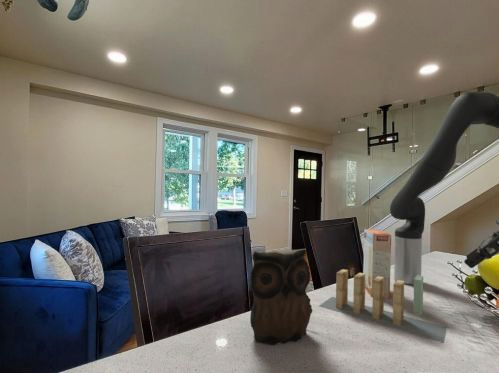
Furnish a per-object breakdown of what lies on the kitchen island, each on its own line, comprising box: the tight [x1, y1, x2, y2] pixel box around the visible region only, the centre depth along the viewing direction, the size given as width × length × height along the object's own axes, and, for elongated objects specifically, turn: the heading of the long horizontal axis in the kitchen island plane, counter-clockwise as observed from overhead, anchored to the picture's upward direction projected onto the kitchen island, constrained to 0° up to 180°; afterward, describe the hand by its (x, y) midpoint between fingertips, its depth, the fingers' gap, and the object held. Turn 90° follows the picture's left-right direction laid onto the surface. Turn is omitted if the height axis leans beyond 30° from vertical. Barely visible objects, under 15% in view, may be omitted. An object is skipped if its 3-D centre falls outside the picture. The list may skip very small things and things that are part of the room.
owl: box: [249, 248, 313, 346], centre depth 65 cm, size 13×13×20 cm
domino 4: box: [392, 280, 405, 326], centre depth 73 cm, size 5×2×10 cm, turn 141°
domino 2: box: [352, 272, 366, 314], centre depth 79 cm, size 5×2×10 cm, turn 141°
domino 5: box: [413, 275, 424, 316], centre depth 80 cm, size 5×2×10 cm, turn 141°
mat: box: [318, 296, 448, 343], centre depth 76 cm, size 10×30×1 cm, turn 51°
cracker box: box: [362, 228, 392, 300], centre depth 96 cm, size 14×6×21 cm, turn 168°
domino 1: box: [335, 268, 349, 309], centre depth 82 cm, size 5×2×10 cm, turn 141°
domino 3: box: [371, 276, 385, 320], centre depth 76 cm, size 5×2×10 cm, turn 141°
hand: (468, 262), depth 72 cm, fingers open, 8 cm apart
